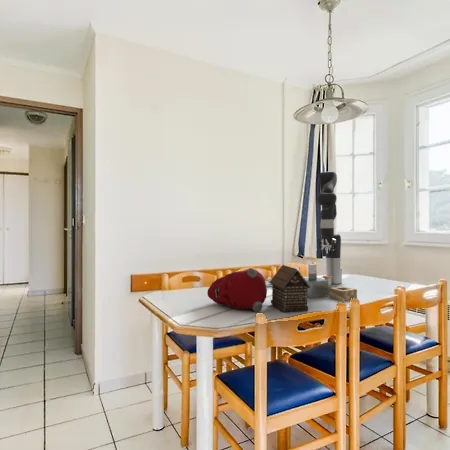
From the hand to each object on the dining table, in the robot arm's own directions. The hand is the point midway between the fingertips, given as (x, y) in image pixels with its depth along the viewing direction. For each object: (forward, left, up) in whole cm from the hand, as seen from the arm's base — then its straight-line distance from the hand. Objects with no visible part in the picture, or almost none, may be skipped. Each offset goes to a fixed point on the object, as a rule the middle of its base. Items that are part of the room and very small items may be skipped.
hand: (327, 256), depth 197 cm
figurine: (+8, -24, -22) cm, 34 cm away
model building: (+39, +16, -22) cm, 47 cm away
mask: (+59, +3, -22) cm, 63 cm away
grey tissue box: (+7, 0, -21) cm, 22 cm away
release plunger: (0, 0, -17) cm, 17 cm away
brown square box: (+1, +13, -21) cm, 25 cm away
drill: (+11, 0, -18) cm, 21 cm away
